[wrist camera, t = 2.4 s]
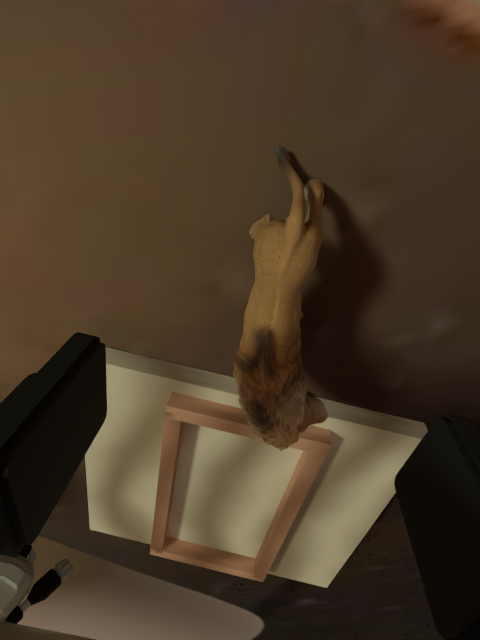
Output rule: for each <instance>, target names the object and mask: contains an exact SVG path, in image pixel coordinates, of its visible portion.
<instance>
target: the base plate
mask: <svg viewBox="0 0 480 640" xmlns="http://www.w3.org/2000/svg"><path fill="white" fill-rule="evenodd" d="M106 382H107V415H106V419H105V421H104V423H103V425H102V427H101V428H100V430H99V432H98V434H97V435H96V437H95V439H94V440H93V442H92V444H91V446H90V447H89V449H88V451H87V452H86V454H85V463H86V478H87V493H88V508H89V523H90V529H91V530H95V531H99V532H103V533H107V534H111V535H115V536H119V537H123V538H127V539H131V540H135V541H139V542H143V543H147V544H151V548H150V554H151V555H155V556H159V557H163V558H167V559H171V560H176V561H180V562H184V563H188V564H192V565H196V566H200V567H204V568H208V569H212V570H216V571H220V572H224V573H228V574H232V575H236V576H240V577H244V578H248V579H252V580H256V581H260V582H263V581H264V579H265V577H266V575H267V573H268V574H272V575H276V576H280V577H284V578H289V579H293V580H297V581H301V582H305V583H309V584H313V585H317V586H321V587H325V588H327V587H328V585H329V584H330V583H331V581H332V580H333V578H334V577H335V576H336V574H337V573H338V572H339V570H340V569H341V567H342V566H343V565H344V563H345V562H346V560H347V559H348V558H349V556H350V555H351V554H352V552H353V551H354V549H355V548H356V547H357V545H358V544H359V543H360V541H361V540H362V538H363V537H364V536H365V534H366V533H367V532H368V530H369V529H370V527H371V526H372V525H373V523H374V522H375V521H376V519H377V518H378V516H379V515H380V514H381V512H382V511H383V510H384V508H385V507H386V505H387V504H388V503H389V501H390V500H391V499H392V497H393V496H394V494H395V493H396V490H395V485H394V482H395V477H396V475H397V473H398V472H399V470H400V469H401V468H402V466H403V465H404V463H405V462H406V461H407V459H408V458H409V456H410V455H411V454H412V452H413V451H414V449H415V448H416V447H417V445H418V444H419V442H420V441H421V440H422V438H423V437H424V436H425V434H426V433H427V431H428V430H427V428H426V425H425V423H423V422H418V421H414V420H410V419H406V418H402V417H397V416H393V415H389V414H385V413H381V412H377V411H372V410H368V409H364V408H360V407H356V406H351V405H347V404H343V403H339V402H335V401H330V400H326V399H322V398H319V399H320V400H321V401H322V402H323V403H324V405H325V410H326V411H327V413H328V418H327V419H326V420H325V421H324V422H323V423H318V424H313V425H309V426H308V428H307V429H306V430H305V431H304V432H302V433H299V440H298V441H297V442H296V443H294V444H293V445H289V447H288V448H287V449H283V451H281V450H279V449H278V448H275V447H274V446H273V445H267V444H266V443H265V442H264V441H263V440H262V439H261V438H260V437H258V436H257V435H255V434H254V433H253V432H252V431H251V430H250V426H249V423H248V422H247V420H246V415H245V414H244V412H243V409H242V408H241V406H240V404H239V394H238V387H237V381H236V379H235V378H234V377H230V376H226V375H221V374H217V373H213V372H209V371H205V370H200V369H196V368H192V367H188V366H184V365H179V364H175V363H171V362H167V361H163V360H158V359H154V358H150V357H146V356H142V355H137V354H133V353H129V352H125V351H121V350H116V349H112V348H108V347H106ZM316 398H318V397H316Z"/></svg>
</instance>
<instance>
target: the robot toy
mask: <svg viewBox="0 0 480 640" xmlns="http://www.w3.org/2000/svg"><path fill="white" fill-rule="evenodd" d="M31 548H32V546H31V545H24V547H23V548H22V550H21V552H20V553H19V555H18V557H17V558H13V557H9V556H4V555H0V621H3V622H8V623H14V624H17V623H18V622H19V621H20V620H21V619H22V618H23V612H24V611H25V610H26V609H27V608H28V607H29V606H31V605H33V604H36V603H38V602H40V601H43V600H45V599H46V598H47V597H48V596H49V595H50V594H51V593H52V592H53V591H55V590H56V589H57V588H58V587H59V586H60V585H61V580H62V579H65V578H67V577H69V575H70V574H71V572H72V570H73V566H72V565H71V564H70V566H69V567H68V568H67V569H66V570H64V569H63V567H64V566H65V565H67V564H68V563H69V561H68V560H62V561H60V562H59V563H57V565H56V567H55V569H54V570H53V569H51V570H49V571H48V572H47V573H46V574H45V575H44V576H43V577H42V578H40V580H38V581H37V582H36V583H35V584H34V586H33V588H32V589H31V591H30V593H29V595H28V597H27V599H26V600H25V601H24V602H23V603H22V604H21V605H20V606H19V604H20V603H21V602H22V600H23V598H24V597H25V596H26V594H27V593H28V591H29V589H30V586H31V584H32V580H33V576H34V567H33V566H34V562H35V558H36V553H35V552H34V550H33V549H31ZM30 551H31V552H30ZM29 553H30V554H29ZM28 554H29V558H28V559H26V558H27V556H28Z"/></svg>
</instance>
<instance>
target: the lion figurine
mask: <svg viewBox="0 0 480 640" xmlns="http://www.w3.org/2000/svg"><path fill="white" fill-rule="evenodd" d="M276 153H277V157H278V163H279V167H280V169H281V170H282V171H283V172H284V174H285V175H286V177H287V178H288V180H289V182H290V184H291V187H292V192H293V202H292V206H291V211H290V214H289V217H287V219H286V221H285V222H282V221H278V220H275V221H273V217H272V215H271V214H266V215H265V216H264V217H263V218H262V219H261V220H258V221H256V222H255V223H254V224H253V225H252V227H251V229H250V231H249V234H250V236H251V239H252V240H254V241H255V247H254V250H253V258H254V261H255V283H254V285H253V288H252V290H251V294H250V297H249V300H248V304H247V307H246V310H245V315H244V327H243V336H242V337H241V341H240V348H239V349H238V350H237V352H236V354H235V357H234V371H233V376H234V378H235V379H236V381H237V387H238V394H239V404H240V406H241V408H242V409H243V412H244V414H245V415H246V420H247V422H248V423H249V426H250V430H251V431H252V432H253V433H254V434H255V435H257V436H258V437H260V438H261V439H262V440H263V441H264V442H265V443H266V444H267V445H273V446H274V447H275V448H278V449H279V450H281V451H283V449H287V448H288V447H289V445H293V444H294V443H296V442H297V441H298V440H299V433H302V432H304V431H305V430H306V429H307V428H308V426H309V425H313V424H318V423H323V422H324V421H325V420H326V419H327V418H328V413H327V411H326V410H325V405H324V403H323V402H322V401H321V400H320V399H319V398H316V397H315V395H314V393H312V392H308V391H307V384H306V382H305V377H304V376H303V357H302V354H301V351H300V347H301V339H300V335H301V327H300V319H301V318H302V317H303V312H302V311H301V287H302V286H303V284H304V283H305V281H306V280H307V278H308V277H309V276H310V274H311V273H312V272H313V270H314V268H315V266H316V263H317V259H318V254H319V248H320V246H321V245H322V242H323V231H322V204H323V199H324V189H323V184H322V182H321V181H320V180H317V179H311V180H309V181H308V182H307V184H306V186H305V188H304V186H303V183H302V181H301V179H300V178H299V176H298V175H297V173H296V172H295V170H294V169H293V168H292V165H291V162H290V156H289V155H288V153H287V150H286V149H285V147H283V146H278V147H277V148H276ZM305 200H306V201H307V202H308V214H307V217H306V219H305Z"/></svg>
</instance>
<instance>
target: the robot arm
mask: <svg viewBox="0 0 480 640" xmlns="http://www.w3.org/2000/svg"><path fill="white" fill-rule="evenodd" d="M106 415H107V382H106V347H105V344H103V343H100V339H99V337H96V336H92V335H87V334H83V333H75V334H74V335H73V336H72V337H71V338H70V339H69V340H68V341H67V342H66V343H65V344H64V345H63V346H62V347H61V348H60V349H59V350H58V351H57V353H56V354H55V355H54V356H53V357H52V358H51V359H50V360H49V361H48V362H47V363H46V364H45V365H44V366H43V367H42V368H41V369H40V370H39V371H38V372H37V373H33V374H31V375H29V376H28V377H26V378H25V379H24V380H23V381H22V382H21V383H20V384H19V385H18V386H17V387H16V388H15V389H14V390H13V391H12V392H11V393H10V394H9V395H8V396H7V397H6V398H5V399H4V400H3V401H2V402H1V404H0V555H4V556H9V557H13V558H17V557H18V555H19V553H20V552H21V550H22V548H23V547H24V545H31V544H32V543H33V542H34V540H35V539H36V538H37V536H38V535H39V533H40V531H41V529H42V528H43V526H44V524H45V523H46V521H47V519H48V517H49V516H50V514H51V512H52V511H53V509H54V507H55V505H56V504H57V502H58V500H59V499H60V497H61V495H62V493H63V492H64V490H65V488H66V487H67V485H68V483H69V481H70V480H71V478H72V476H73V475H74V473H75V471H76V470H77V468H78V466H79V464H80V463H81V461H82V459H83V458H84V456H85V454H86V452H87V451H88V449H89V447H90V446H91V444H92V442H93V440H94V439H95V437H96V435H97V434H98V432H99V430H100V428H101V427H102V425H103V423H104V421H105V419H106ZM394 485H395V490H396V494H397V497H398V500H399V504H400V507H401V511H402V514H403V517H404V521H405V524H406V528H407V531H408V534H409V538H410V541H411V545H412V548H413V552H414V555H415V558H416V562H417V565H418V569H419V572H420V575H421V579H422V582H423V586H424V589H425V592H426V596H427V599H428V603H429V606H430V609H431V613H432V616H433V620H434V623H435V626H436V628H437V630H438V632H439V633H440V634H441V636H443V637H444V640H480V433H479V431H478V430H477V428H476V427H475V425H474V424H473V422H472V421H470V420H469V419H465V418H460V417H456V416H451V415H445V416H443V417H442V418H441V419H437V420H436V421H435V422H434V423H433V424H432V426H431V427H430V429H429V430H428V431H427V433H426V434H425V436H424V437H423V438H422V440H421V441H420V442H419V444H418V445H417V447H416V448H415V449H414V451H413V452H412V454H411V455H410V456H409V458H408V459H407V461H406V462H405V463H404V465H403V466H402V468H401V469H400V470H399V472H398V473H397V475H396V477H395V482H394ZM0 640H95V639H90V638H85V637H81V636H76V635H71V634H66V633H60V632H55V631H50V630H44V629H40V628H34V627H29V626H24V625H19V624H14V623H8V622H3V621H0Z"/></svg>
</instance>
